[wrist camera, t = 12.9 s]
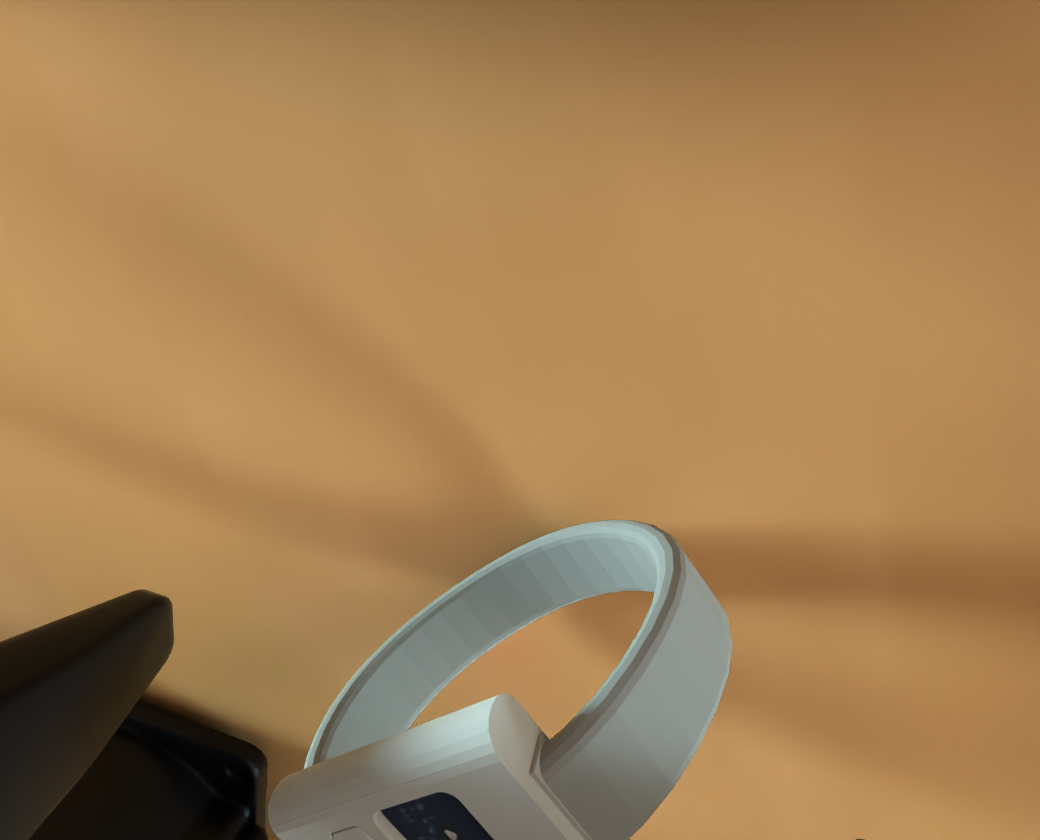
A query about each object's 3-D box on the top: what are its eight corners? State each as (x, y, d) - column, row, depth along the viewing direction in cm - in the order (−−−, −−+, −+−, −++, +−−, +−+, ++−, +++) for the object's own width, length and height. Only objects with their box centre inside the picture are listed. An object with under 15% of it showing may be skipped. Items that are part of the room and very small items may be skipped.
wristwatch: (452, 686, 12) (325, 991, 8) (364, 581, 12) (173, 845, 7) (749, 567, 10) (803, 913, 6) (655, 427, 9) (630, 685, 5)
